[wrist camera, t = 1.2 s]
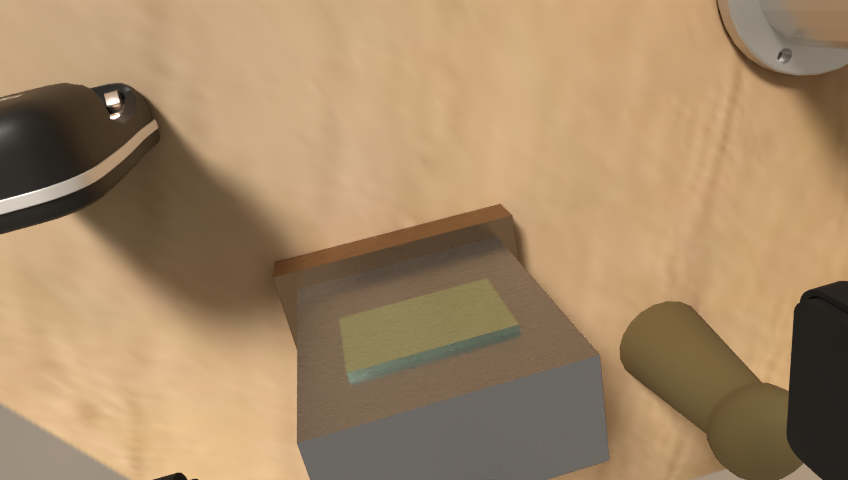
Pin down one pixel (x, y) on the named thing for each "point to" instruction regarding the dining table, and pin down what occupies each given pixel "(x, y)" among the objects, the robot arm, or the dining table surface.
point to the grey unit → (438, 359)
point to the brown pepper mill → (711, 390)
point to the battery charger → (67, 148)
